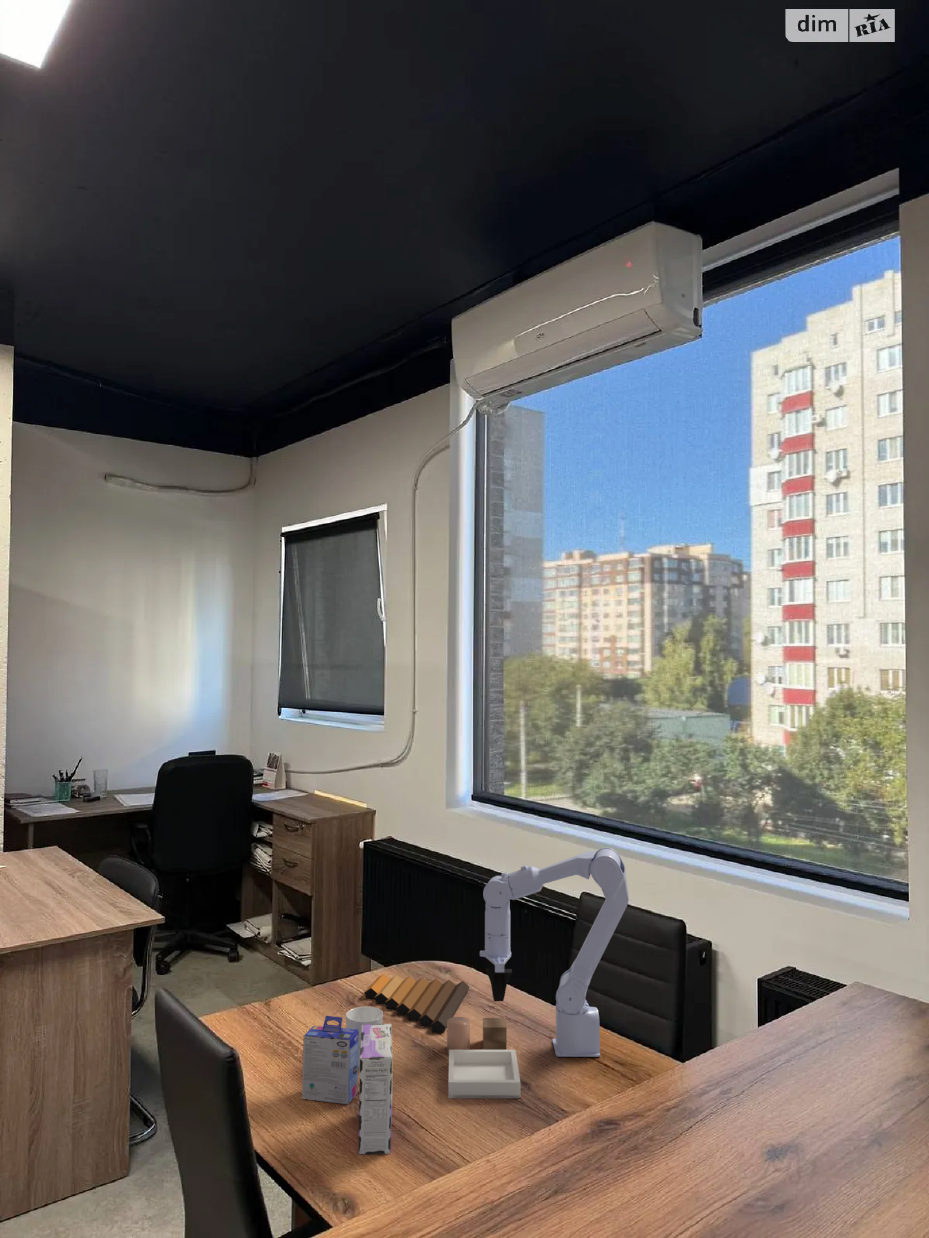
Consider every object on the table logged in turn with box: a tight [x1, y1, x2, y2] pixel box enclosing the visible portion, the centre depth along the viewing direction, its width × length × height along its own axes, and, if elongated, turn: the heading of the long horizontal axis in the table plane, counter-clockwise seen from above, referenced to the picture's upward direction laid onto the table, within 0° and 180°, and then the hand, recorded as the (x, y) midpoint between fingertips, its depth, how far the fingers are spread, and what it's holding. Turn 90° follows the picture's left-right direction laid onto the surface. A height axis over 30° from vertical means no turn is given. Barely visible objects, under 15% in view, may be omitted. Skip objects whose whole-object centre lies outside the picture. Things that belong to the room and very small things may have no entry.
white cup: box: [345, 1006, 384, 1070], centre depth 179 cm, size 8×8×10 cm
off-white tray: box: [447, 1049, 521, 1099], centre depth 171 cm, size 14×14×3 cm
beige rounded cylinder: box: [446, 1016, 471, 1053], centre depth 185 cm, size 5×5×6 cm
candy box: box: [357, 1023, 393, 1155], centre depth 152 cm, size 14×6×16 cm, turn 5°
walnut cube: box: [482, 1017, 508, 1050], centre depth 187 cm, size 5×5×5 cm
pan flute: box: [363, 973, 470, 1034], centre depth 207 cm, size 25×3×25 cm
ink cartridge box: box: [301, 1015, 359, 1105], centre depth 165 cm, size 10×6×14 cm, turn 78°
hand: (497, 993), depth 189 cm, fingers open, 7 cm apart
